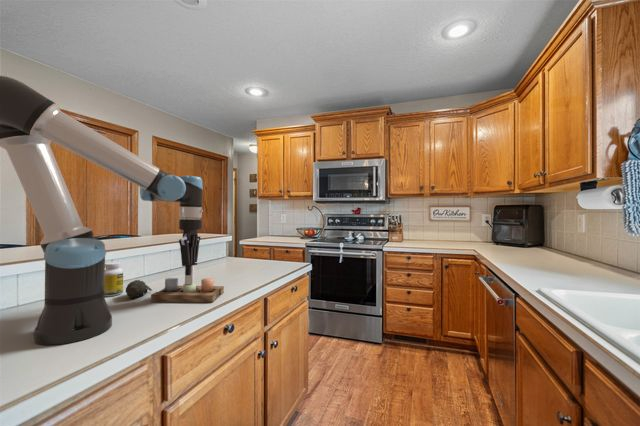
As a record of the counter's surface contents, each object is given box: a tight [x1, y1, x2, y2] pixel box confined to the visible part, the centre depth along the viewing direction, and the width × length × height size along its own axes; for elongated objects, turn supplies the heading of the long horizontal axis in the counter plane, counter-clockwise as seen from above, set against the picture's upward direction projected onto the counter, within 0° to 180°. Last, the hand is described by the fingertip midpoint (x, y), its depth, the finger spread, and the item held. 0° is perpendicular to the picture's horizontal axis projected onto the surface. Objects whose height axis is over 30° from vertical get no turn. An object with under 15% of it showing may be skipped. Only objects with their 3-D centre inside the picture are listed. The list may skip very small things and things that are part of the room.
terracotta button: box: [200, 277, 215, 292], centre depth 103 cm, size 4×4×4 cm
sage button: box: [182, 282, 197, 292], centre depth 103 cm, size 4×4×4 cm
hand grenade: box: [125, 279, 153, 299], centre depth 103 cm, size 6×7×12 cm
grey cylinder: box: [164, 277, 179, 292], centre depth 103 cm, size 4×4×4 cm
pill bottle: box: [104, 261, 124, 298], centre depth 104 cm, size 6×6×12 cm
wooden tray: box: [150, 285, 225, 304], centre depth 103 cm, size 21×12×2 cm, turn 92°
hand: (189, 283), depth 103 cm, fingers closed
